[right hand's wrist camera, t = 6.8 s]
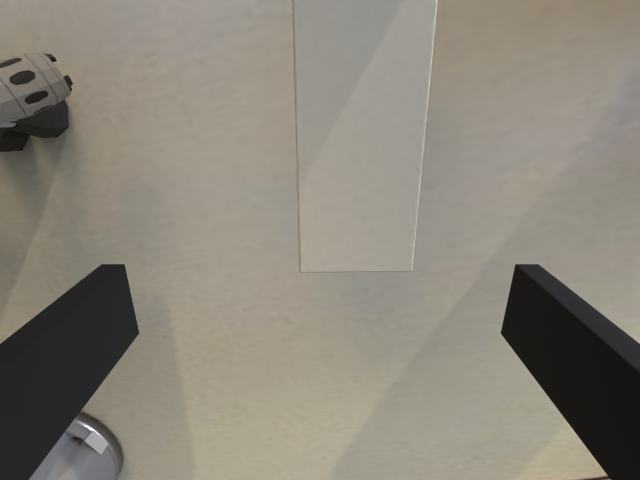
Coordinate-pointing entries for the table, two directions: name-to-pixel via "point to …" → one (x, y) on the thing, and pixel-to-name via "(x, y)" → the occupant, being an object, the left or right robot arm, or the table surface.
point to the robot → (31, 100)
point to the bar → (360, 130)
